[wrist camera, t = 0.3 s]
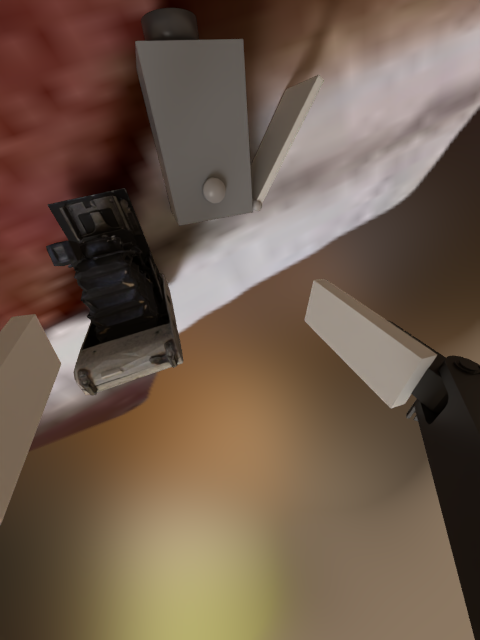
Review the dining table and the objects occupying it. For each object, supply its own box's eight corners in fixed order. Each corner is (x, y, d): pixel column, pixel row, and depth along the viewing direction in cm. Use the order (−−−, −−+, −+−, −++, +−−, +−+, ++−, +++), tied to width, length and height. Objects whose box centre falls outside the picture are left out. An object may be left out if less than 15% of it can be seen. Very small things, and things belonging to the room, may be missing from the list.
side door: (284, 88, 29) (318, 72, 24) (295, 99, 30) (330, 87, 25) (233, 199, 35) (251, 208, 29) (244, 206, 36) (263, 216, 30)
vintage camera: (133, 184, 31) (114, 204, 15) (172, 289, 39) (187, 373, 23) (52, 201, 29) (-67, 244, 13) (112, 307, 38) (85, 409, 22)
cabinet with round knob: (129, 40, 24) (125, -6, 17) (216, 38, 26) (244, -3, 19) (171, 212, 33) (179, 227, 26) (233, 201, 35) (255, 213, 28)
